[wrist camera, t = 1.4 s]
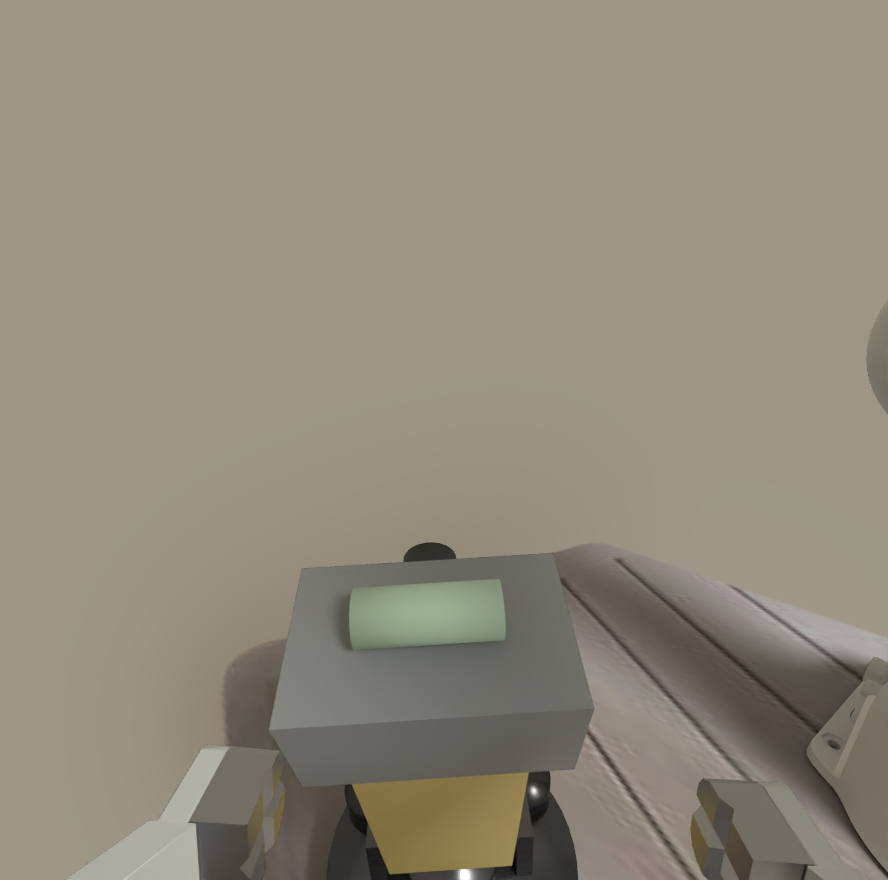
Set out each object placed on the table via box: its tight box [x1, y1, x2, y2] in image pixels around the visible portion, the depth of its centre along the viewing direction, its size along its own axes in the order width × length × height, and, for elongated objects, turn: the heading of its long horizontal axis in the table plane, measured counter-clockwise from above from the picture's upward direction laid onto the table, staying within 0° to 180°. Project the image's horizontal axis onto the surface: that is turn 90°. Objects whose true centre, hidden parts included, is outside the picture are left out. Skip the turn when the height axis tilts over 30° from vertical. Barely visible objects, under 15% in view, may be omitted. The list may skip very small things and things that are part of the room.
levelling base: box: [327, 771, 578, 880], centre depth 33 cm, size 16×16×7 cm
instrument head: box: [269, 543, 594, 874], centre depth 26 cm, size 8×10×26 cm
